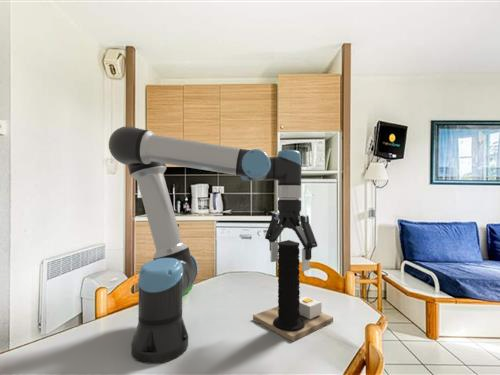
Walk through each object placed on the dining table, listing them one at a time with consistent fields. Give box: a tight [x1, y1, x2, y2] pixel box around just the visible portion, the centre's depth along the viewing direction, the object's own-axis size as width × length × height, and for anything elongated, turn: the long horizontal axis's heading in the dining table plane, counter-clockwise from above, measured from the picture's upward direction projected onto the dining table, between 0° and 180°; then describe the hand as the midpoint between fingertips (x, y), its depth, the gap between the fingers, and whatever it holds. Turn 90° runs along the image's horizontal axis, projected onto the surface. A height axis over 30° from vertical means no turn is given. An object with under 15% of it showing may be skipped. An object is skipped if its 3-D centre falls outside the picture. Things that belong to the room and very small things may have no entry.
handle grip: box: [273, 239, 305, 331], centre depth 89 cm, size 10×26×10 cm
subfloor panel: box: [252, 306, 334, 342], centre depth 94 cm, size 20×18×2 cm
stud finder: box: [299, 295, 322, 319], centre depth 96 cm, size 6×7×4 cm
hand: (289, 265), depth 89 cm, fingers open, 13 cm apart
